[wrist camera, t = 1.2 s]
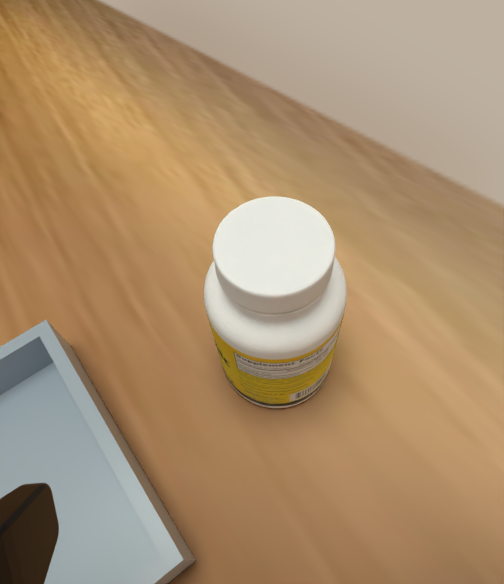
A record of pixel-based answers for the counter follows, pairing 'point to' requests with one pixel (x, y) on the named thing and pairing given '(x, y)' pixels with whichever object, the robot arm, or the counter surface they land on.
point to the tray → (81, 469)
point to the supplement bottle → (275, 300)
